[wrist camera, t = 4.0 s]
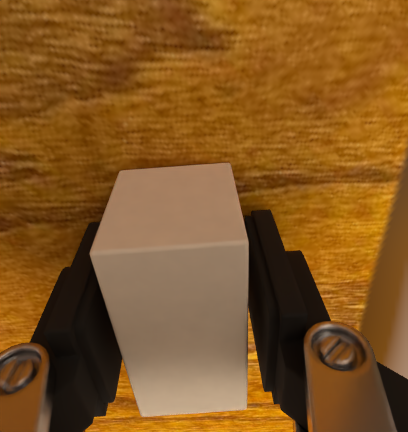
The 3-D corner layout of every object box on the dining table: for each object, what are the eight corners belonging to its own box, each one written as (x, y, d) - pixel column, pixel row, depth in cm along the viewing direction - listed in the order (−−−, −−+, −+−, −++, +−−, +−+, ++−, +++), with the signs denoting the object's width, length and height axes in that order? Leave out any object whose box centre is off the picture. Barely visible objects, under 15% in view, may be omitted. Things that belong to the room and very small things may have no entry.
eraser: (118, 169, 9) (87, 253, 6) (230, 161, 9) (249, 242, 6) (151, 318, 13) (140, 418, 10) (233, 312, 13) (247, 411, 10)
